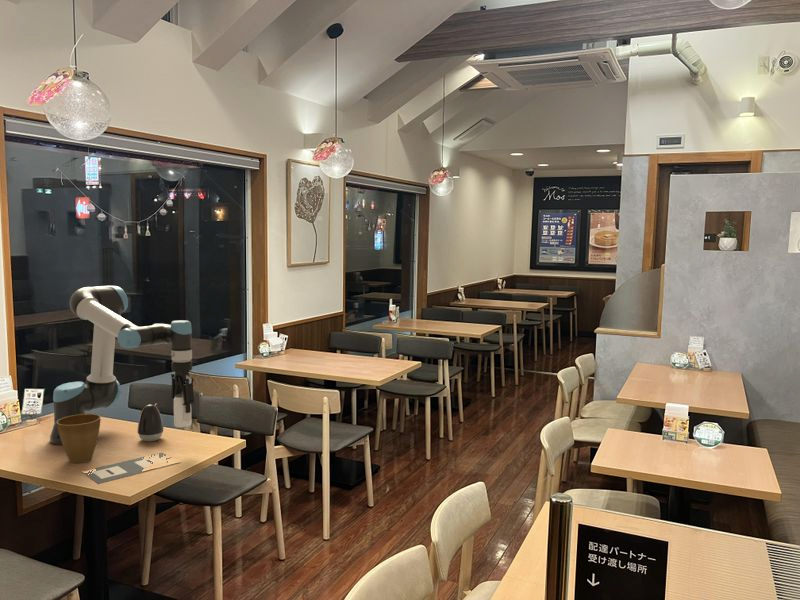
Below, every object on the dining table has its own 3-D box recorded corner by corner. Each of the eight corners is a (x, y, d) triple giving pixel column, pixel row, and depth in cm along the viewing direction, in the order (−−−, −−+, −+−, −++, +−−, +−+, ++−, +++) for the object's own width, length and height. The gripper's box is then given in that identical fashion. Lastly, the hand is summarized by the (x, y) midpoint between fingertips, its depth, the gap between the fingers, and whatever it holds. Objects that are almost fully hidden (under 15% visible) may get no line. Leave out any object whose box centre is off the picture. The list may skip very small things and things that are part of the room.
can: (185, 428, 239) (185, 397, 238) (170, 427, 240) (170, 396, 239) (194, 423, 245) (194, 394, 244) (179, 422, 247) (179, 393, 246)
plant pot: (85, 451, 246) (84, 411, 245) (110, 457, 240) (109, 416, 238) (49, 462, 233) (47, 420, 232) (74, 469, 226) (73, 426, 225)
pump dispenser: (168, 436, 266) (168, 402, 265) (155, 444, 256) (154, 408, 255) (146, 435, 268) (146, 400, 267) (132, 442, 258) (131, 406, 256)
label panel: (81, 471, 225) (81, 471, 224) (161, 452, 246) (161, 452, 246) (98, 483, 213) (98, 483, 213) (180, 462, 235) (180, 462, 235)
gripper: (161, 358, 245) (162, 415, 247) (184, 365, 231) (185, 425, 233) (179, 356, 250) (180, 412, 252) (203, 362, 237) (203, 422, 239)
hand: (182, 418), depth 243 cm, fingers closed on can, 6 cm apart
